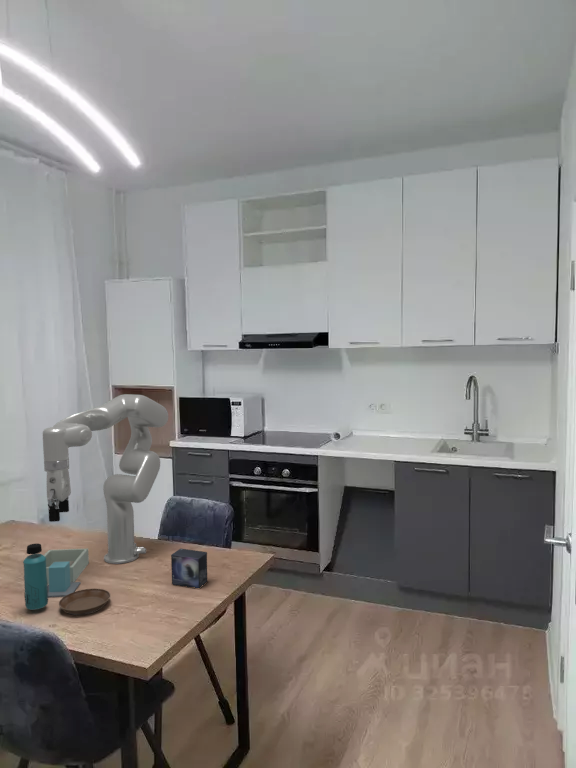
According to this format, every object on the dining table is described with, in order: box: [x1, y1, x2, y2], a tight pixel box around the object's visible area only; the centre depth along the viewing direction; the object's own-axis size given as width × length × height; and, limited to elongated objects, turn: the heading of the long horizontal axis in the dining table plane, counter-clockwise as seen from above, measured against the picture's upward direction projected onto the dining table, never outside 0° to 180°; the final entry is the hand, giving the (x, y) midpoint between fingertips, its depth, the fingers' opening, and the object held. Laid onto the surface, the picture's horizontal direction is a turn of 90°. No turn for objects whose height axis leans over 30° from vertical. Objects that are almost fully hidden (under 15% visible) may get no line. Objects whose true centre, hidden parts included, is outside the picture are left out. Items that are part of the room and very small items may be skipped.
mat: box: [47, 581, 82, 599], centre depth 181 cm, size 10×10×1 cm
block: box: [48, 561, 70, 592], centre depth 181 cm, size 5×5×8 cm
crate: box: [43, 548, 90, 585], centre depth 195 cm, size 14×18×6 cm
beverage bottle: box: [22, 542, 49, 611], centre depth 167 cm, size 6×7×20 cm
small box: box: [170, 548, 208, 589], centre depth 186 cm, size 11×6×10 cm, turn 70°
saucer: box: [58, 588, 111, 616], centre depth 170 cm, size 15×15×3 cm
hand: (59, 516), depth 183 cm, fingers open, 9 cm apart
